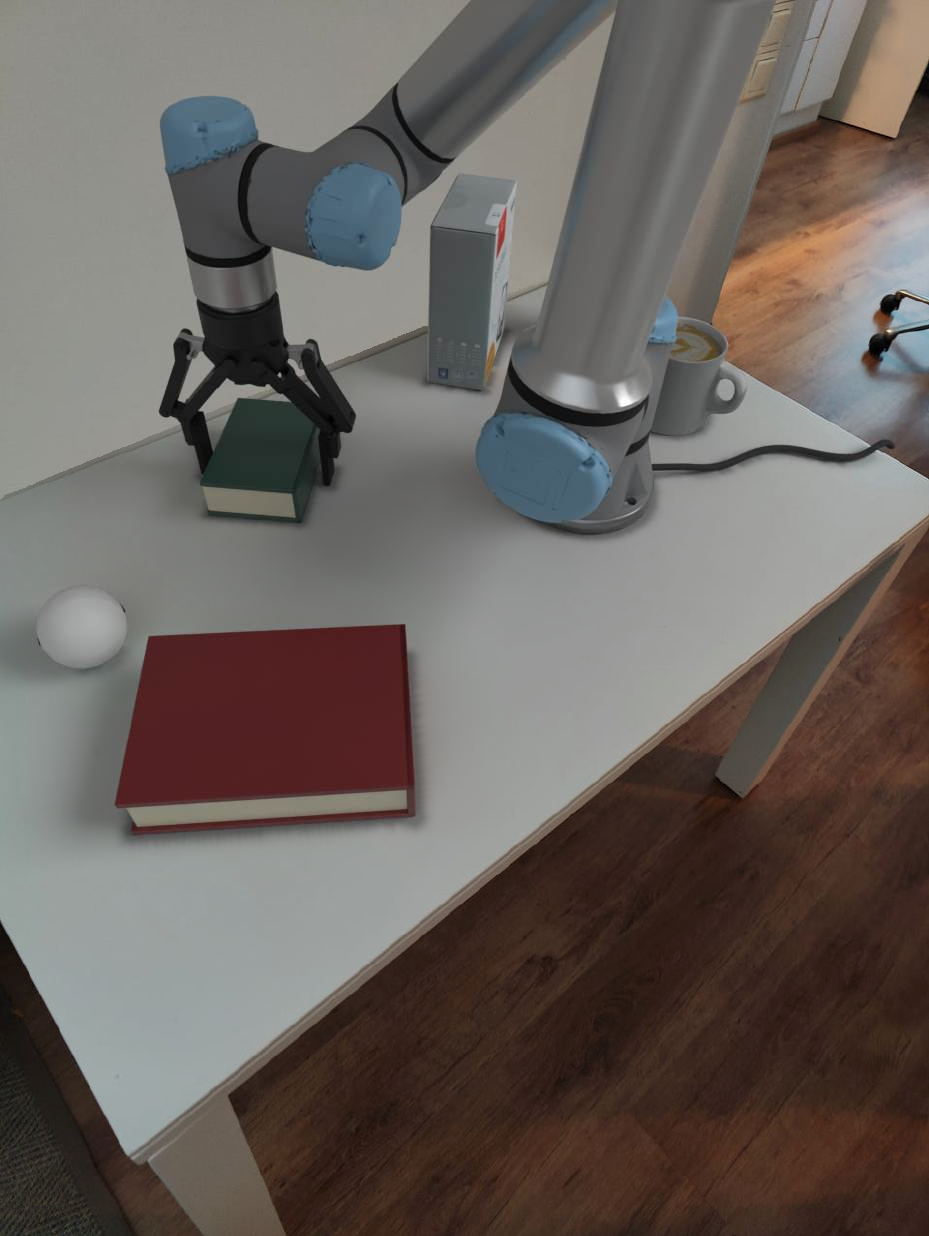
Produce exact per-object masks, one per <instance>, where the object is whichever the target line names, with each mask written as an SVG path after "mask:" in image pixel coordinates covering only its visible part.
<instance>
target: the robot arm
mask: <svg viewBox="0 0 929 1236" xmlns="http://www.w3.org/2000/svg"><path fill="white" fill-rule="evenodd" d="M777 1H778V0H469V2H467V4H465V6H464V7H463V8H461V11H460V12H459V13H458V14H457V15H456V16H455V17H454V18H452V20H451V22H450V23H449V24H448V25H447V26H446V27H445V28H444V29H443V30H442V31H441V32H440V34H438V36H437V37H436V38H435V39H434V40H433V41H432V42H431V44H430V45H429V46H427V48H426V49H425V50H424V52H422V54H421V55H420V56H419V57H418V58H417V59H416V61H414V63H413V64H412V65H411V66H410V67H409V68H408V69H407V70H406V72H404V74H403V75H402V76H401V77H400V78H399V79H398V81H397V82H396V83H395V84H394V85H393V86H392V87H391V88H390V89H389V90H388V91H387V92H386V93H385V94H384V96H383V97H382V98H381V99H380V100H379V101H378V102H377V103H376V104H375V106H374V107H373V108H372V109H371V110H370V111H368V113H367V114H365V116H363V117H362V118H361V119H359V120H357V122H355V123H354V124H352V125H351V126H350V127H347V128H346V129H344V130H343V131H341V132H340V133H338V135H336V136H334V137H332V139H330V140H328V141H326V142H325V143H324V144H322V145H320V146H319V147H318V148H316V149H315V150H313V151H301V150H297V149H292V148H287V147H282V146H279V145H275V144H272V143H269V142H266V141H262V140H260V139H259V129H258V128H257V126H256V125H257V124H256V121H255V116H254V113H253V111H252V110H251V109H250V107H249V106H247V105H246V104H244V103H242V102H240V101H239V100H238V99H235V98H231V97H226V96H219V95H201V96H200V95H199V96H193V97H192V96H191V97H187V98H184V99H181V100H178V101H177V102H174V103H173V104H170V105H169V106H168V107H167V108H166V109H164V111H163V112H162V114H161V116H160V118H159V130H160V137H161V144H162V150H163V157H164V163H165V166H164V170H165V173H166V175H167V178H168V182H169V185H170V186H169V187H170V190H171V193H172V198H173V202H174V206H175V209H176V213H177V219H178V223H179V226H180V231H181V235H182V240H183V241H182V242H183V246H184V251H185V256H186V262H187V266H188V270H189V276H190V281H191V286H192V290H193V294H194V296H195V298H196V301H195V302H196V307H197V312H198V316H199V322H200V327H201V330H202V334H203V336H204V337H203V336H197V335H194V334H193V331H192V330H191V329H189V328H186V327H185V328H181V330H180V331H179V333H178V334H177V337H176V338H175V340H174V342H173V343H172V345H173V346H172V347H173V357H174V362H173V365H172V369H171V372H170V375H169V378H168V381H167V384H166V386H165V387H166V388H165V391H164V393H163V396H162V400H161V402H160V406H159V409H158V413H159V415H160V416H161V417H162V418H165V419H166V418H170V417H172V418H174V419H176V420H177V421H178V422H179V423H180V427H181V430H182V434H183V437H184V441H185V443H186V444H187V446H190V447H194V451H195V455H196V458H197V462H198V466H199V469H200V474H201V475H203V474H204V472H205V470H206V467H207V465H208V463H209V461H210V458H211V456H212V454H213V452H214V448H213V445H212V441H211V437H210V432H209V428H208V424H207V419H206V416H205V412H204V411H201V408H202V407H203V406H204V405H205V403H206V402H207V401H208V400H209V399H210V398H211V397H212V395H213V394H214V393H215V391H217V389H219V388H220V387H221V386H222V385H223V384H224V382H226V380H229V381H230V382H233V384H234V385H235V386H246V385H251V386H254V387H258V388H266V386H269V387H271V388H272V389H273V390H274V391H275V392H276V393H277V394H278V395H283V396H284V397H285V398H286V399H287V400H288V401H289V402H292V403H293V404H294V405H295V406H296V407H297V408H298V409H299V410H300V411H301V412H302V413H303V414H304V415H305V416H307V417H308V418H309V419H310V420H311V421H312V422H313V423H314V424H315V425H316V426H317V427H318V428H319V429H320V433H319V436H318V442H319V451H320V469H321V476H322V485H323V486H330V487H331V485H332V480H333V477H334V474H335V459H338V458H339V456H340V452H341V450H342V440H341V439H342V437H341V433H344V434H351V433H352V432H353V428H354V426H355V423H356V419H357V413H356V411H355V410H354V408H353V407H352V405H351V404H350V402H349V401H348V399H347V398H346V396H345V394H344V392H343V391H342V390H341V388H340V386H339V384H338V383H337V382H336V380H335V379H334V376H333V375H332V373H331V372H330V371H329V369H328V367H327V366H326V364H325V363H324V361H323V360H322V357H321V351H320V348H319V344H318V341H316V340H315V339H313V338H308V339H306V340H305V344H290V343H289V342H288V341H287V339H286V337H285V334H284V333H285V332H284V324H283V317H282V310H281V303H280V296H279V292H278V291H277V289H278V283H277V275H276V267H275V260H274V253H273V248H275V249H277V250H281V251H285V252H287V253H290V254H295V255H298V256H301V257H305V258H308V259H312V260H315V261H319V262H321V263H324V264H325V265H328V266H332V267H335V268H337V267H340V268H350V269H355V270H360V271H368V272H369V271H374V270H376V269H379V268H380V267H381V266H383V265H384V264H385V263H386V262H387V261H388V260H389V258H390V256H391V253H392V248H393V247H395V246H396V245H397V241H398V238H399V235H400V230H401V225H402V216H403V215H402V214H403V213H402V211H403V210H402V209H403V207H404V206H405V205H406V204H407V203H409V202H410V201H412V199H414V198H415V197H417V196H418V195H419V194H420V193H422V192H423V191H425V190H426V189H427V188H429V187H430V186H431V185H432V184H434V183H435V182H436V181H437V180H438V179H439V178H440V177H441V175H442V174H443V172H444V171H445V170H446V169H447V168H448V167H449V166H450V165H451V164H453V162H454V161H455V160H456V159H457V158H458V157H459V156H460V155H461V154H462V153H463V152H464V151H466V150H467V148H469V147H470V146H471V145H472V144H473V143H474V142H475V141H476V140H478V139H479V138H480V137H481V136H482V135H483V134H484V133H485V132H486V131H488V129H490V128H491V126H492V125H494V124H495V123H496V122H497V121H498V120H499V119H500V118H501V117H502V116H503V115H504V114H506V113H507V112H508V111H509V110H510V109H511V108H512V107H513V106H514V105H516V103H518V102H519V101H520V100H521V99H522V98H523V97H524V96H525V95H526V94H527V93H529V91H531V90H532V89H533V88H534V87H535V86H536V85H537V84H538V83H539V82H540V81H541V80H543V78H545V77H546V76H547V75H548V74H549V73H550V72H551V71H552V70H553V69H555V68H556V66H558V65H559V64H560V63H561V62H562V61H563V60H564V59H566V57H567V56H569V55H570V54H571V53H572V52H573V51H574V50H575V49H576V48H577V47H579V46H580V45H581V44H582V43H583V41H585V40H586V39H587V38H588V37H589V36H590V35H591V34H592V33H593V32H594V31H596V30H597V29H598V28H599V27H600V26H601V25H603V23H604V22H605V21H607V20H608V19H609V18H610V17H611V16H612V15H613V14H614V17H613V21H612V24H611V29H610V32H609V37H608V41H607V44H606V47H605V48H606V49H605V53H604V57H603V61H602V64H601V69H600V73H599V78H598V80H597V84H596V88H595V93H594V97H593V101H592V104H591V108H590V113H589V117H588V121H587V125H586V129H585V131H584V132H585V133H584V137H583V140H582V145H581V149H580V153H579V157H578V161H577V165H576V168H575V173H574V177H573V181H572V185H571V189H570V192H569V196H568V200H567V205H566V209H565V211H564V212H565V213H564V216H563V219H562V224H561V230H560V233H559V237H558V241H557V244H556V249H555V253H554V257H553V261H552V265H551V269H550V272H549V277H548V281H547V285H546V289H545V293H544V297H543V301H542V305H541V308H540V312H539V317H538V321H537V323H536V324H534V325H532V326H529V327H528V328H526V329H524V330H523V331H522V332H521V333H520V334H518V336H517V337H516V339H515V340H514V343H513V345H512V347H511V353H510V356H509V361H508V365H507V369H506V373H505V377H504V382H503V385H502V390H501V394H500V398H499V401H498V404H497V407H496V409H495V411H494V413H493V415H492V416H491V417H490V418H488V419H487V420H486V421H485V422H484V424H483V426H482V427H481V430H480V435H479V436H478V438H477V441H476V444H475V454H474V455H475V462H476V467H477V470H478V472H479V475H480V477H481V479H482V480H483V482H484V483H485V485H486V486H487V487H489V488H490V489H491V490H492V493H493V495H494V496H496V498H497V499H498V500H499V501H500V502H502V503H503V504H504V505H506V506H507V507H508V508H510V509H512V510H513V511H515V512H517V513H519V514H520V515H522V516H524V517H527V518H529V519H532V520H536V521H539V522H544V523H546V524H548V525H550V526H552V527H555V528H558V529H561V530H564V531H567V532H572V533H573V532H574V533H578V534H579V533H580V534H604V533H610V532H611V533H612V532H614V531H615V532H616V531H619V530H622V529H625V528H626V527H629V526H630V525H632V524H634V523H635V522H637V521H638V520H639V519H640V518H641V517H642V516H643V515H644V514H645V513H646V511H647V510H648V508H649V505H650V502H651V500H652V498H651V497H652V495H653V491H654V486H655V480H654V472H664V471H665V472H667V471H668V472H669V471H687V472H690V471H691V472H712V471H719V470H722V469H727V468H730V467H732V466H734V465H737V464H739V463H741V462H743V461H745V460H748V459H750V458H752V457H756V456H759V455H762V454H767V453H780V452H781V453H783V452H784V453H794V454H799V455H806V456H810V457H814V458H819V459H825V460H831V461H843V462H846V461H849V462H850V461H856V460H857V461H858V460H861V459H863V458H865V457H868V456H871V454H874V453H875V452H877V451H878V450H880V449H882V448H884V447H886V448H887V449H889V450H894V449H895V448H896V444H895V443H894V442H893V441H892V440H890V439H887V438H885V439H880V440H879V441H877V442H875V443H874V444H872V445H870V446H869V447H867V448H864V449H863V450H861V451H858V452H852V453H837V452H829V451H824V450H818V449H814V448H810V447H805V446H799V445H790V444H770V445H763V446H758V447H755V448H752V449H748V450H747V451H745V452H742V453H740V454H738V455H736V456H733V457H731V458H728V459H725V460H722V461H719V462H714V463H686V462H681V463H680V462H677V463H676V462H675V463H674V462H673V463H672V462H671V463H652V457H651V450H650V441H649V439H650V434H651V427H652V424H653V420H654V416H655V412H656V408H657V404H658V400H659V396H660V392H661V388H662V384H663V380H664V376H665V372H666V368H667V364H668V360H669V356H670V352H671V348H672V344H673V343H674V342H675V341H676V339H677V337H676V335H675V334H676V328H677V322H678V317H679V314H678V310H677V307H676V306H675V304H674V303H673V301H672V300H671V299H669V298H668V297H667V292H668V290H669V287H670V284H671V282H672V279H673V277H674V274H675V272H676V268H677V266H678V263H679V260H680V258H681V255H682V253H683V250H684V247H685V244H686V242H687V239H688V237H689V233H690V231H691V228H692V225H693V224H694V222H695V221H694V220H695V218H696V216H697V213H698V211H699V208H700V204H701V202H702V199H703V197H704V194H705V191H706V189H707V187H708V184H709V180H710V179H711V174H712V172H713V170H714V168H715V165H716V162H717V159H718V158H719V155H720V152H721V149H722V146H723V144H724V142H725V138H726V136H727V133H728V130H729V127H730V125H731V122H732V119H733V118H734V115H735V111H736V110H737V109H736V108H737V106H738V104H739V101H740V98H741V96H742V93H743V90H744V88H745V85H746V82H747V80H748V77H749V74H750V72H751V69H752V67H753V64H754V61H755V58H756V56H757V53H758V50H759V47H760V46H761V42H762V40H763V38H764V35H765V32H766V29H767V27H768V23H769V21H770V19H771V16H772V13H773V11H774V8H775V6H776V2H777ZM200 352H202V353H203V355H204V356H205V357H206V358H207V359H208V360H209V361H210V362H211V363H212V364H213V367H212V369H211V370H210V371H208V373H207V374H206V375H205V377H204V378H203V380H202V381H200V383H199V384H198V386H196V388H195V390H193V392H192V393H191V394H190V395H189V396H188V398H186V399H185V401H184V402H183V401H181V400H179V398H180V396H181V393H182V390H183V387H184V384H185V381H186V378H187V375H188V373H189V369H190V367H191V363H192V362H193V360H194V359H196V358H197V356H198V355H199V354H200ZM289 360H293V361H294V362H295V363H296V365H297V367H298V369H299V370H303V371H304V375H305V377H306V379H307V380H308V382H309V384H310V385H311V386H312V388H313V389H314V390H313V389H312V388H311V387H310V386H308V385H307V384H306V383H305V381H304V380H303V379H301V377H300V376H298V374H297V373H296V370H295V368H294V367H293V366H292V365H291V364H290V363H289ZM279 374H280V376H279Z"/></svg>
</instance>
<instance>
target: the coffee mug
mask: <svg viewBox="0 0 929 1236" xmlns="http://www.w3.org/2000/svg"><path fill="white" fill-rule="evenodd" d="M675 335H676V337H677V339H676V341H675V342H674V343H673V344H672V348H671V352H670V356H669V360H668V364H667V368H666V372H665V376H664V380H663V384H662V388H661V392H660V396H659V400H658V404H657V408H656V412H655V416H654V420H653V424H652V427H651V431H650V433H654V434H659V435H662V436H663V435H664V436H671V437H672V436H673V437H674V436H676V437H677V436H684V435H689V434H693V433H695V432H696V431H698V430H700V429H701V428H702V427H703V426H704V425H705V422H706V420H707V417H708V416H710V415H726V414H730V413H733V412H734V411H736V410H737V409H738V408H739V407H741V404H742V403H743V401H744V399H745V397H746V393H747V390H748V379H747V376H746V374H745V373H744V372H743V371H742V370H741V369H739V368H738V367H736V366H733V365H730V364H728V363H726V361H725V360H726V357H727V353H728V350H729V342H728V339H727V337H726V336H725V334H724V333H723V332H722V331H721V330H720V329H718V328H717V327H715V326H713V325H712V324H710V323H708V322H707V321H706V322H705V321H704V320H699V319H696V318H693V317H687V316H678V322H677V328H676V334H675ZM723 380H728V381H731V383H732V384H733V387H734V391H733V395H732V397H731V399H728V400H725V399H723V398H722V397H720V394H719V385H720V382H721V381H723Z"/></svg>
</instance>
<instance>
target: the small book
mask: <svg viewBox="0 0 929 1236" xmlns="http://www.w3.org/2000/svg"><path fill="white" fill-rule="evenodd" d="M227 418H228V419H227V421H226V423H225V425H224V428H223V430H222V432H221V434H220V435H219V439H218V440H217V443H216V444H215V447H214V449H213V454H212V456H211V458H210V461H209V463H208V465H207V467H206V470H205V472H204V474H202V476H201V479H200V481H199V486H200V487H202V491H203V495H204V498H205V502H206V505H207V515H208V516H213V517H226V518H236V519H237V518H238V519H248V520H249V519H250V520H260V521H261V520H262V521H271V522H273V521H274V522H286V523H295V524H297V523H298V524H302V521H303V518H304V515H305V512H306V508H307V505H308V501H309V499H310V496H311V492H312V489H313V486H314V482H315V479H316V477H317V473H318V470H319V467H320V464H321V460H320V451H319V442H318V436H319V433H320V429H319V428H318V427H317V426H316V425H315V424H314V423H313V422H312V421H311V420H310V419H309V418H308V417H307V416H305V415H304V414H303V413H302V412H301V411H300V410H299V409H298V408H297V407H296V406H295V405H294V404H293V403H292V402H291V401H283V400H272V399H260V398H247V397H237V399H236V401H235V403H234V405H233V408H232V409H231V412H230V414H229V417H227Z"/></svg>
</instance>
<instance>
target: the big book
mask: <svg viewBox="0 0 929 1236" xmlns="http://www.w3.org/2000/svg"><path fill="white" fill-rule="evenodd" d="M409 677H410V675H409V659H408V643H407V627H406V623H399V624H398V623H397V624H377V625H356V626H355V625H354V626H333V627H332V626H331V627H312V628H311V627H309V628H291V629H288V628H287V629H271V630H270V629H269V630H268V629H267V630H248V631H247V630H246V631H226V632H225V631H224V632H207V633H206V632H205V633H183V634H182V633H180V634H163V635H162V634H161V635H160V634H159V635H148V636H147V642H146V646H145V651H144V658H143V661H142V666H141V671H140V676H139V680H138V681H139V682H138V687H137V692H136V696H135V701H134V706H133V711H132V716H131V717H132V718H131V721H130V726H129V731H128V735H127V741H126V744H125V745H126V746H125V750H124V756H123V761H122V765H121V770H120V775H119V779H118V785H117V790H116V796H115V800H114V803H113V804H114V807H115V808H116V809H126V810H127V812H128V815H129V816H130V817H131V819H132V824H131V829H130V833H131V835H132V836H142V835H157V834H170V833H171V834H172V833H186V832H200V831H215V830H231V829H247V828H260V827H275V826H290V825H305V824H321V823H335V822H350V821H366V820H378V819H379V820H381V819H395V818H412V817H416V816H417V815H416V781H415V780H416V777H415V762H414V746H413V743H414V742H413V729H412V727H413V726H412V712H411V695H410V694H411V693H410V678H409Z"/></svg>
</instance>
